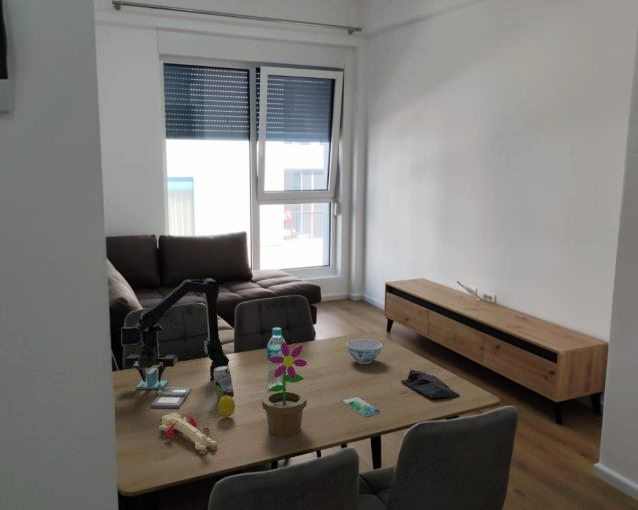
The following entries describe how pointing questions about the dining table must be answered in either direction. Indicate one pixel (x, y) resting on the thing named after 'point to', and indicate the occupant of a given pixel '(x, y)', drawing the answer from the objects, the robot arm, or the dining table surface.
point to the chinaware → (364, 350)
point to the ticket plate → (170, 397)
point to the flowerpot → (285, 396)
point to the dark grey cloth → (428, 385)
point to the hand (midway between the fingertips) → (152, 382)
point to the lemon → (226, 406)
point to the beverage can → (223, 382)
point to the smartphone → (361, 406)
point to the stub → (152, 381)
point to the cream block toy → (188, 431)
